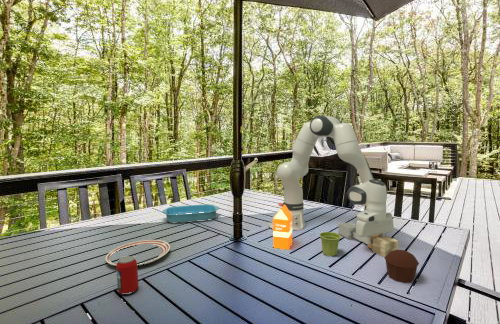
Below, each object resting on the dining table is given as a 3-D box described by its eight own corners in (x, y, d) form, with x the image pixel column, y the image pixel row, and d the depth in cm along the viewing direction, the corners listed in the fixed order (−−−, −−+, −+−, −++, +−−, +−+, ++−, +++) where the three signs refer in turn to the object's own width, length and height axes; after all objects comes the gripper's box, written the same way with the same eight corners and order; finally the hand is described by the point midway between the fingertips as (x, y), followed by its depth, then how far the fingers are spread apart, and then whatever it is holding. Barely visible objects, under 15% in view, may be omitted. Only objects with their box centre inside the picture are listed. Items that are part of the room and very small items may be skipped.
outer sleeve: (348, 239, 144) (349, 228, 144) (338, 234, 151) (338, 224, 151) (359, 237, 147) (359, 226, 146) (348, 232, 154) (349, 222, 154)
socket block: (384, 257, 123) (385, 243, 122) (372, 251, 129) (372, 238, 129) (398, 254, 126) (398, 240, 125) (385, 248, 132) (385, 235, 132)
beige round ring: (106, 278, 110) (105, 270, 109) (105, 252, 134) (105, 246, 134) (176, 262, 122) (176, 255, 122) (164, 241, 147) (164, 235, 146)
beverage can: (122, 286, 103) (120, 255, 102) (141, 285, 104) (139, 254, 102) (115, 297, 96) (112, 263, 95) (135, 295, 97) (133, 262, 96)
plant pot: (340, 250, 131) (341, 232, 130) (340, 259, 122) (340, 240, 121) (320, 248, 134) (320, 230, 133) (318, 256, 125) (318, 237, 124)
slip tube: (379, 252, 128) (379, 239, 127) (349, 238, 145) (350, 227, 145) (386, 250, 129) (386, 238, 129) (356, 237, 147) (356, 226, 146)
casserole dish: (216, 212, 201) (216, 202, 201) (221, 221, 180) (221, 210, 179) (163, 216, 192) (163, 206, 191) (161, 227, 170) (161, 215, 170)
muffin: (402, 287, 99) (403, 260, 98) (377, 273, 109) (378, 249, 108) (425, 280, 104) (426, 254, 103) (398, 267, 114) (399, 243, 113)
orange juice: (273, 248, 135) (272, 207, 133) (277, 241, 144) (277, 203, 142) (288, 250, 133) (288, 209, 131) (292, 243, 141) (292, 204, 139)
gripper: (386, 210, 138) (385, 237, 140) (354, 215, 131) (353, 244, 132) (397, 213, 132) (396, 241, 134) (364, 219, 125) (363, 249, 126)
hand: (374, 242), depth 133 cm, fingers closed on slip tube, 4 cm apart
